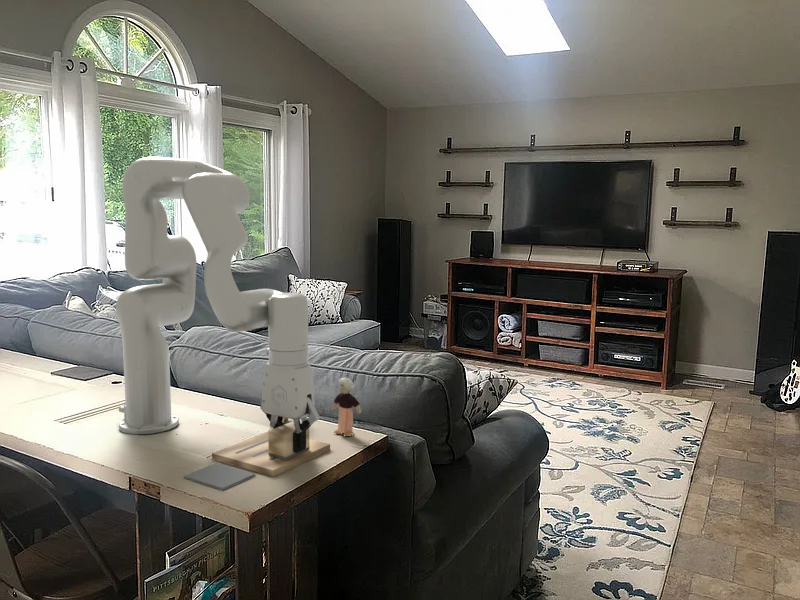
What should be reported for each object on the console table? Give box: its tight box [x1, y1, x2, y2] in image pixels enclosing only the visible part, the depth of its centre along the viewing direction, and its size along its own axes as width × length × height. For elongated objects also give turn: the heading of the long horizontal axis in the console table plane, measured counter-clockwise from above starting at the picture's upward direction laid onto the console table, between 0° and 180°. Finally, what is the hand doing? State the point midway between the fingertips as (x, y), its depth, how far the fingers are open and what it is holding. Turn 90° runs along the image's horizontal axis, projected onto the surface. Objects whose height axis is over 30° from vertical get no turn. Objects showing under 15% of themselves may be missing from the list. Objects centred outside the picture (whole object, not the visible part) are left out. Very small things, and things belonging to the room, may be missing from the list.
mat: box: [183, 462, 256, 491], centre depth 128 cm, size 10×8×1 cm
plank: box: [211, 431, 331, 477], centre depth 139 cm, size 16×17×1 cm
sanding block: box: [267, 421, 310, 460], centre depth 137 cm, size 4×7×5 cm, turn 148°
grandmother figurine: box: [332, 377, 362, 437], centre depth 151 cm, size 8×4×13 cm, turn 66°
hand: (289, 447), depth 137 cm, fingers closed on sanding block, 4 cm apart
